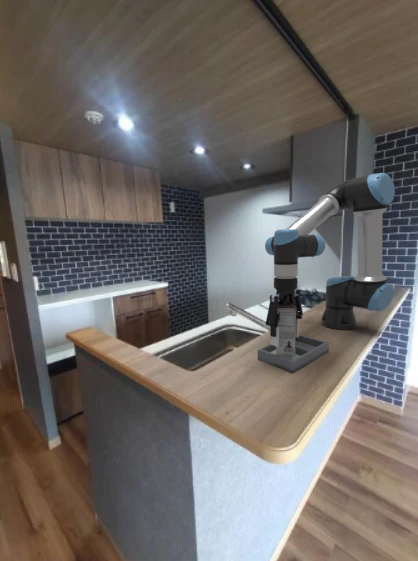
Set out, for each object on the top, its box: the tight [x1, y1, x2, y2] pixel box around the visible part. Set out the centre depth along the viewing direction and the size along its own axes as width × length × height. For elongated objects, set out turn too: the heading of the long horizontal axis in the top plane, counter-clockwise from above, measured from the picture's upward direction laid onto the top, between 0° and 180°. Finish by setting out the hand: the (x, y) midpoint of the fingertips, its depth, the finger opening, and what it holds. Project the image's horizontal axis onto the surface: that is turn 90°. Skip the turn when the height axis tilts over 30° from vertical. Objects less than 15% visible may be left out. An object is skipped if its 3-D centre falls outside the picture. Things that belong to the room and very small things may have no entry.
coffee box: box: [276, 302, 296, 354], centre depth 89 cm, size 9×6×16 cm
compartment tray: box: [257, 333, 330, 374], centre depth 94 cm, size 23×14×4 cm, turn 130°
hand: (285, 340), depth 90 cm, fingers closed on coffee box, 11 cm apart
